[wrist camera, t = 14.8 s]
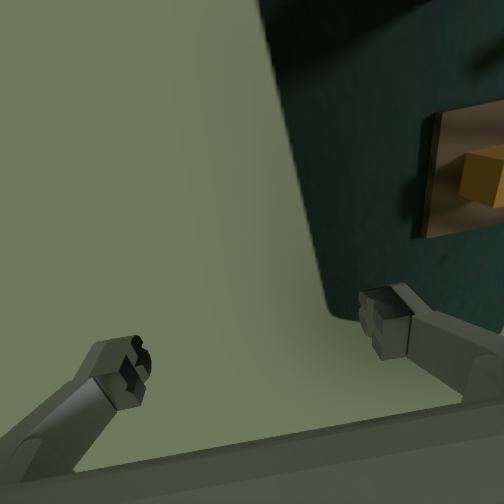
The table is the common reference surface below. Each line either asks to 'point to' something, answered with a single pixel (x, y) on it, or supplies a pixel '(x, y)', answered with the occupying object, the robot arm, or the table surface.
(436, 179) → the walnut post base
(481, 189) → the mustard brick
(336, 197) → the table surface
